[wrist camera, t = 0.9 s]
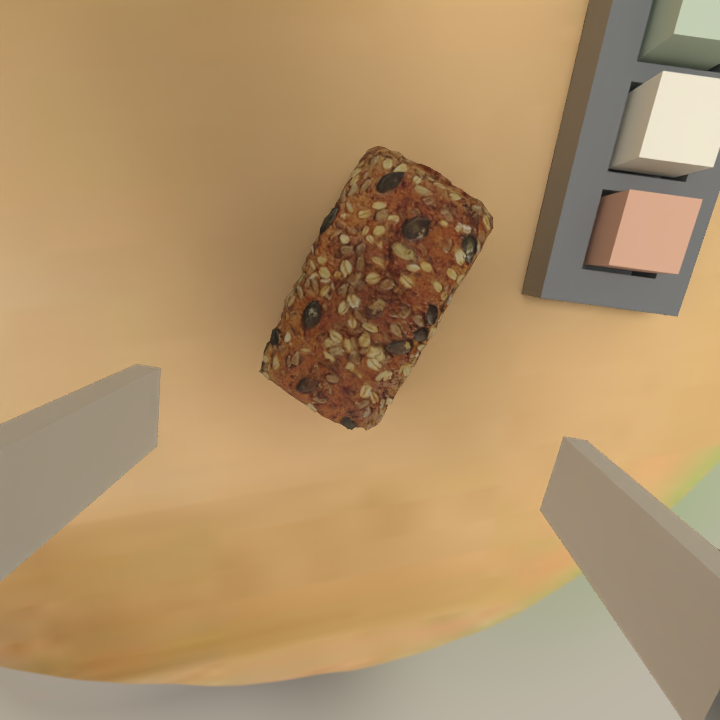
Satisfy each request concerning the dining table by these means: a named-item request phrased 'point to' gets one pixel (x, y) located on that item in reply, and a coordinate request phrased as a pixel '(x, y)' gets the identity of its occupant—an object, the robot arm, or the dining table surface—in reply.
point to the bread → (374, 288)
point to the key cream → (669, 126)
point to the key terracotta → (642, 231)
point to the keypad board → (608, 173)
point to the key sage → (682, 34)
